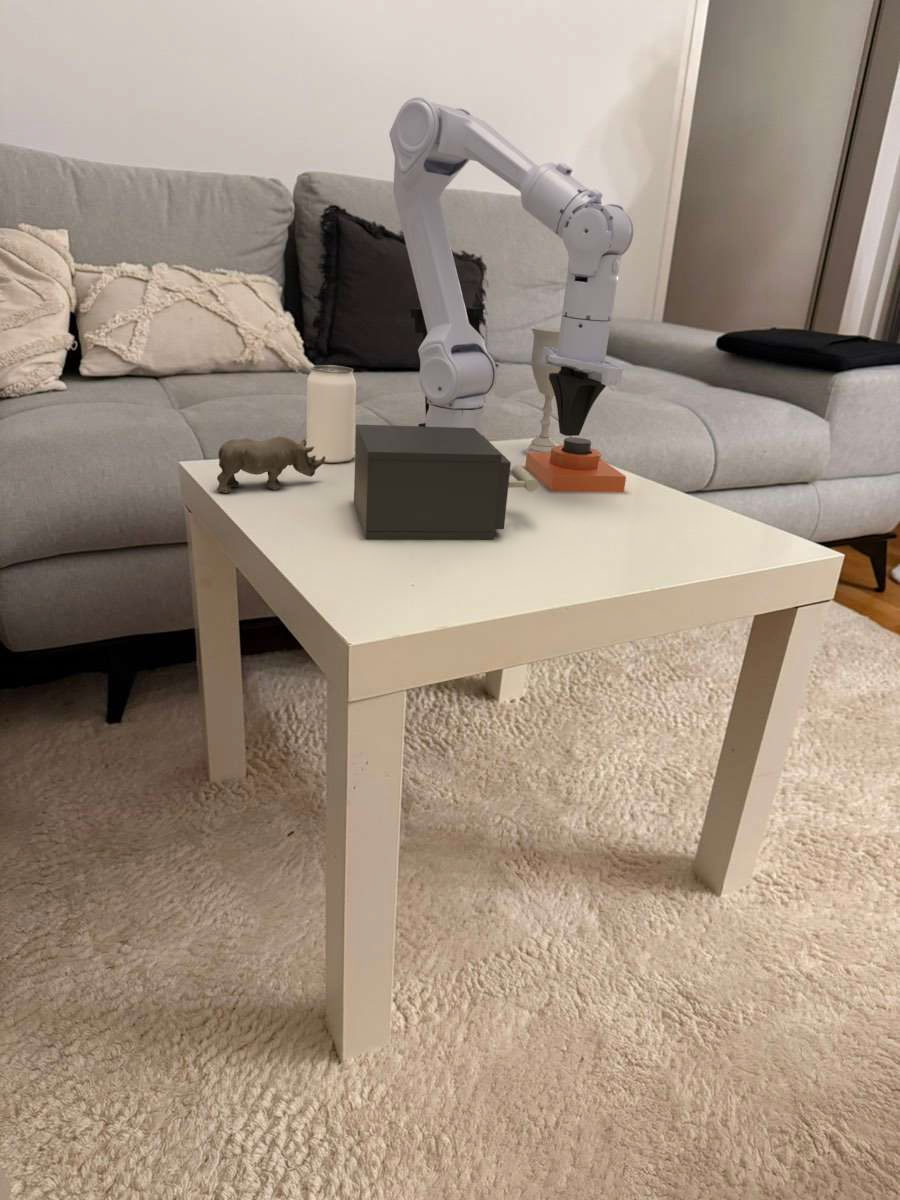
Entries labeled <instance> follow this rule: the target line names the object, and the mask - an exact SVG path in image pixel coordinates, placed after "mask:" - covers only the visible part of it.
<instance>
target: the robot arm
mask: <svg viewBox="0 0 900 1200" xmlns="http://www.w3.org/2000/svg"><path fill="white" fill-rule="evenodd" d="M388 133H389V139H390V143H391V147H392V151H393V155H394V168H393V169H394V170H393V196H394V201H395V205H396V209H397V214H398V217H399V221H400V225H401V231H402V234H403V238H404V242H405V246H406V251H407V254H408V259H409V264H410V267H411V271H412V274H413V275H412V276H413V279H414V283H415V287H416V291H417V296H418V299H419V303H420V308H422V312H423V316H424V320H425V324H426V328H427V332H428V334H427V336H426V338H425V339H424V340H423V341H422V342H421V344H420V346H419V348H418V349H417V352H418V357H419V363H420V364H419V365H420V367H419V375H418V379H419V385H420V389H421V391H422V394H424V397H425V396H426V397H427V403H428V404H429V410H428V412H427V415H426V414H425V423H426V427H457V428H475V429H476V430H477V431H478V432H479V433H480V434H481V435H482V430H483V429H482V428H483V417H484V406H485V404H486V401H487V396H488V395H489V394H490V393H491V392H492V390H493V389H494V387H495V385H496V383H497V378H498V373H497V372H498V370H497V365H496V363H495V361H494V358H493V357H492V356H491V355H490V353H489V352H488V350H487V348H486V345H485V341H484V338H483V336H482V335H481V334H480V332H477V331H476V330H475V329H474V328H473V327H472V326H471V325H470V324H469V321H468V317H467V308H466V305H465V300H464V297H463V292H462V287H461V284H460V280H459V276H458V275H459V274H458V271H457V267H456V262H455V259H454V258H455V257H454V255H453V250H452V245H451V242H450V237H449V233H448V228H447V224H446V220H445V216H444V212H443V208H442V204H441V197H442V195H443V193H444V191H445V189H446V188H447V187H448V186H449V185H450V184H451V182H452V181H453V180H454V179H455V178H456V177H457V175H459V174H460V172H461V171H462V170H463V169H464V167H466V165H467V164H468V163H469V162H470V161H474V162H477V163H479V164H480V165H481V166H483V167H484V168H486V169H487V170H488V171H490V172H491V173H493V174H494V175H496V176H497V177H498V178H500V179H502V180H503V181H504V182H506V183H507V184H509V185H510V186H511V187H513V188H515V189H516V190H517V191H518V192H520V200H521V205H522V208H523V210H524V211H525V212H527V213H528V214H530V215H531V216H532V217H534V218H535V219H536V220H537V221H538V222H540V223H541V224H542V225H544V226H545V227H546V228H547V229H548V230H550V231H551V232H552V233H554V234H555V235H556V236H557V237H559V238H560V239H561V240H562V242H563V245H564V248H565V249H566V252H567V254H568V263H567V276H566V281H565V282H566V283H565V289H564V290H565V291H564V297H563V305H562V313H561V319H560V326H559V328H560V333H559V340H558V348H549V347H543V351H542V359H541V363H543V364H550V365H553V366H556V367H559V368H561V371H559V373H550V374H549V380H550V383H551V385H552V388H553V391H554V394H555V396H554V398H555V403H556V410H557V419H558V430H559V434H561V435H563V436H564V437H565V436H566V437H576V436H577V437H578V436H580V434H581V432H582V429H583V427H584V425H585V422H586V420H587V418H588V415H589V413H590V411H591V410H592V407H593V405H594V404H595V402H596V400H597V398H598V397H599V396H600V395H601V393H602V392H603V391H604V390H605V388H606V387H607V386H621V381H622V376H623V371H624V370H623V369H624V368H623V367H621V366H618V365H616V364H614V363H613V362H612V361H610V360H608V359H606V356H607V350H608V345H609V344H608V343H609V337H610V331H611V324H612V318H613V312H614V307H615V306H614V305H615V299H616V293H617V287H618V280H619V273H620V268H621V267H620V266H621V260H622V256H623V255H624V254H625V253H626V252H627V251H628V250H629V248H630V246H631V244H632V242H633V240H634V239H633V238H634V224H633V220H632V218H631V217H630V215H629V214H628V212H626V210H625V209H624V207H623V206H622V205H620V204H614V203H607V204H603V200H602V198H603V193H602V192H601V191H599V190H598V189H595V188H592V189H591V190H590V189H589V188H587V187H586V186H585V185H584V184H582V183H581V181H578V180H577V179H576V178H574V177H573V176H571V174H572V173H573V168H571V167H570V166H569V165H567V164H566V163H562V162H559V163H557V164H556V163H554V162H546V163H544V164H540V165H537V164H536V163H535V162H534V161H532V159H530V158H529V157H528V156H527V155H525V154H524V153H523V152H522V151H521V150H519V149H518V148H517V147H516V146H515V145H514V144H513V143H512V142H510V140H508V139H506V138H505V137H504V136H503V135H502V134H500V133H499V131H497V130H496V129H494V128H493V126H491V125H490V124H488V122H486V121H485V120H484V119H481V118H480V117H478V116H474V115H473V114H472V113H471V112H470V111H468V110H466V109H463V108H454V107H450V106H446V105H444V104H439V103H436V102H432V101H430V100H429V99H427V98H424V97H420V96H415V97H412V98H410V99H407V100H406V101H405V102H404V103H403V104H402V105H401V107H400V109H399V110H398V112H397V114H396V117H395V119H394V121H393V124H392V126H391V128H390V130H389V132H388Z"/></svg>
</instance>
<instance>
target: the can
mask: <svg viewBox="0 0 900 1200" xmlns="http://www.w3.org/2000/svg"><path fill="white" fill-rule="evenodd" d="M356 399H357V380H356V378H355V376H354V368H352V367H347V366H343V365H333V364H332V365H331V364H319V365H312V366H310V372H309V374H308V377H307V381H306V448H309V447H313V446H314V449H313V450H312V451H311V452H309V453H308V457H312V456H316V458H315V460H314V462H316V461H319V460H321V459H322V458H323V457H324V456H325V460H324V462H323V463H322V464H342V463H348V462H351V461H352V460H353V458H355V443H356V411H357V410H356V407H357V406H356V404H357V402H356V401H357V400H356Z"/></svg>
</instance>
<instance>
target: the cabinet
mask: <svg viewBox="0 0 900 1200" xmlns="http://www.w3.org/2000/svg"><path fill="white" fill-rule="evenodd" d="M482 435H483V434H482V433H481V434H480V433H479V432H478V431H477V430H476V429H475V428H457V427H424V426H419V425H418V426H417V425H391V424H390V425H389V424H388V425H387V424H359V423H358V424H356V423H355V443H354V480H353V481H354V482H353V484H354V486H353V505H354V508H355V511H356V513H357V516H358V520H359V523H360V526H361V530H362V533H363V535H364V538H365V539H366V540H494V539H495V530H496V529H495V520H496V510H497V499H498V489H499V479H500V469H501V460H502V455H501V454H500V453H501V452H500V451H499V450H498V449H497V448H496V447H495V446H494V445H493V444H492V443H491V442H490V441H489V440H488V439H487V438H486V437H485V436H484V435H483V436H484V437H485V438H486V439H487V440H488V441H489V442H490V443H491V444H492V445H493V446H494V447H495V448H496V449H497V450H498V451H499V452H500V453H499V452H498V451H497V450H496V449H495V448H494V447H493V446H492V445H491V444H490V443H489V442H488V441H487V440H486V439H485V438H484V437H483V436H482Z"/></svg>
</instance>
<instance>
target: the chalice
mask: <svg viewBox="0 0 900 1200" xmlns="http://www.w3.org/2000/svg"><path fill="white" fill-rule="evenodd" d="M530 329H531V331H532V334H533V343H532V352H531V361H530V364H531V368H532V374H533V377H534V380H535V383H536V386H537V389H538V392H539V393H540V394H541V395H543V396H544V404H543V407H542V408H541V410H542V415H543V416H542V418H541V419H540V421H539V423H540V425H541V432H540V434H538V437H534V438H532V440H531V441H530V442H531V443H530V444H529V445H528V448H527V450H526V451H525V454H527V452H533V453H551V449H552V448H553V447H554V446H557V444H556V441H555V440H554V439H553V438H551V437H550V434H549V428H550V426H551V425H552V424H553V422H552V421H551V414H552V412H553V411H554V409H553V407H552V404H553V403H552V402H553V398H554V397H555V394H554V391H553V388H552V385H551V383H550V380H549V374H550V373H559V371H561V368H559V367H556V366H553V365H550V364H543V363H541V359H542V351H543V347H549V348H558V340H559V333H560V327H552V326H532V327H530Z"/></svg>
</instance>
